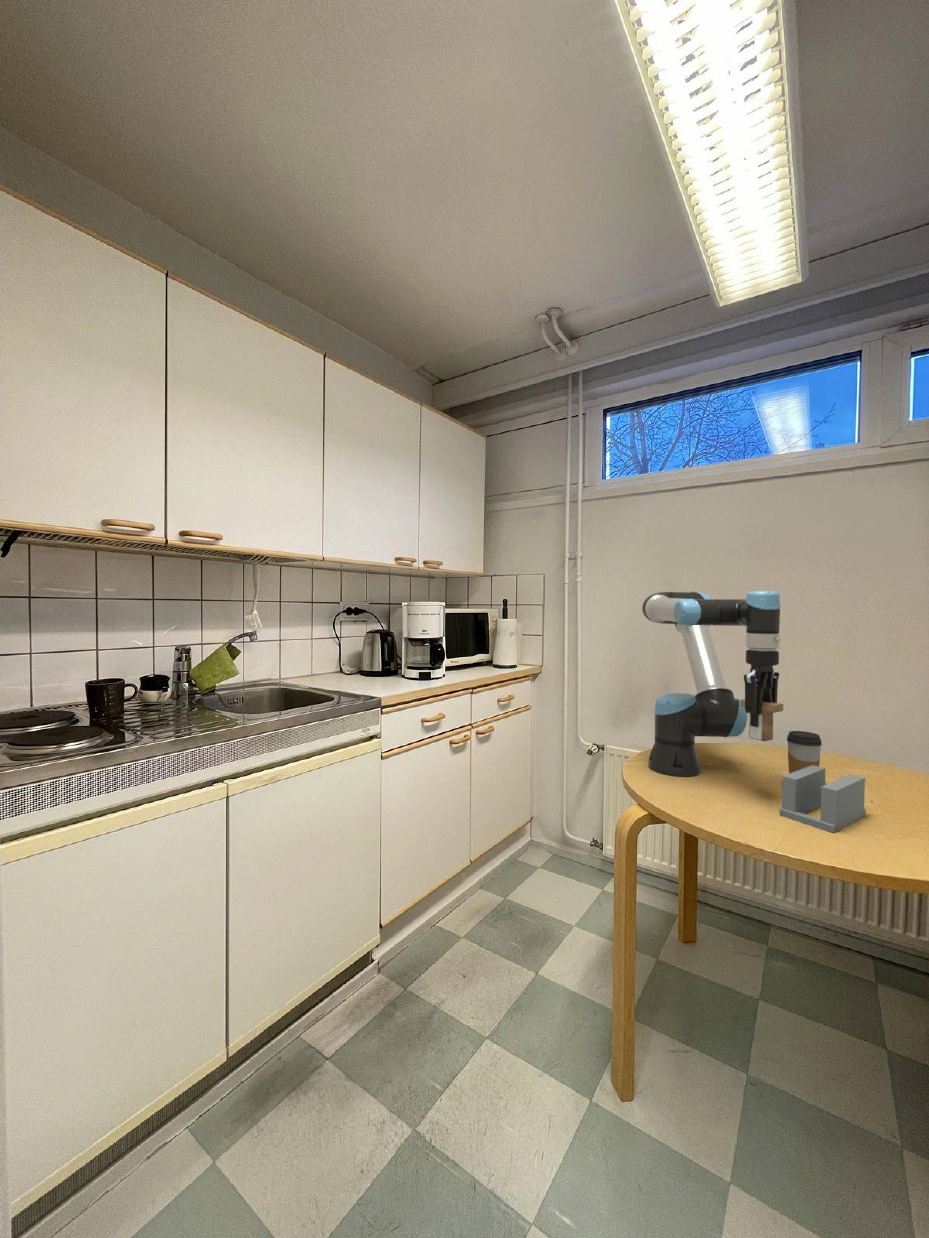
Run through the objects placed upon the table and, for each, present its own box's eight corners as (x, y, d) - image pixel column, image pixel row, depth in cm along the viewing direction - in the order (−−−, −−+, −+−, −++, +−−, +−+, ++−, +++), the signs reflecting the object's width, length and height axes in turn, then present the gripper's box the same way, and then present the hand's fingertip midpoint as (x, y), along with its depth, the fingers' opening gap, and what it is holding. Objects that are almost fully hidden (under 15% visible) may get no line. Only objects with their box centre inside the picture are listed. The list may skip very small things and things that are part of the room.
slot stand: (779, 815, 122) (780, 776, 122) (813, 799, 132) (814, 764, 132) (833, 833, 113) (834, 791, 112) (865, 815, 122) (866, 777, 122)
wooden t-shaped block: (739, 736, 134) (740, 699, 134) (747, 734, 136) (748, 698, 136) (775, 743, 127) (775, 705, 126) (783, 741, 129) (783, 703, 128)
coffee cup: (826, 792, 137) (828, 738, 137) (793, 790, 139) (794, 737, 138) (812, 782, 145) (813, 731, 145) (780, 779, 147) (781, 729, 147)
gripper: (759, 652, 123) (758, 745, 124) (793, 649, 132) (792, 736, 133) (730, 649, 130) (728, 738, 130) (764, 647, 139) (762, 730, 139)
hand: (760, 737), depth 131 cm, fingers closed on wooden t-shaped block, 4 cm apart
